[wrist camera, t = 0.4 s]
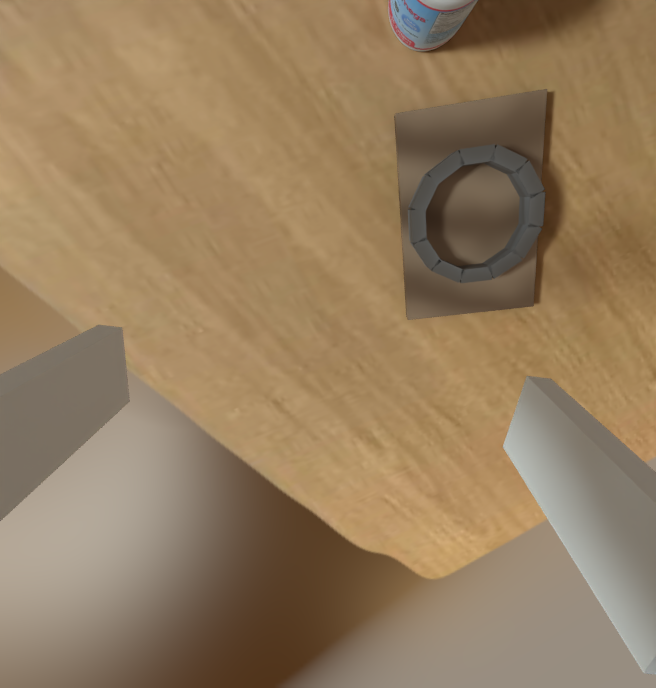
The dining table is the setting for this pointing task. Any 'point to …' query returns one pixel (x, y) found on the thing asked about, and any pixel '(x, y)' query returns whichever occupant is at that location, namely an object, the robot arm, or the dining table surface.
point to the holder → (471, 203)
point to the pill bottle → (427, 21)
